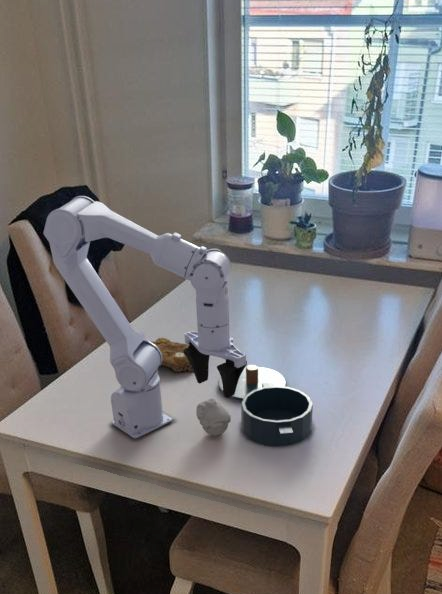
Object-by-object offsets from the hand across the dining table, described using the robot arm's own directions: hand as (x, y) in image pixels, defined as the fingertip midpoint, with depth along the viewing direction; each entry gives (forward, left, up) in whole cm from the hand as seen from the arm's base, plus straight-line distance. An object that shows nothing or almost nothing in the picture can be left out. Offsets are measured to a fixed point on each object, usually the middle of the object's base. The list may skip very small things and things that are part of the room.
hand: (215, 388), depth 127 cm
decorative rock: (+12, +29, -10) cm, 33 cm away
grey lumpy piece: (-1, -1, -10) cm, 10 cm away
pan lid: (+17, +8, -9) cm, 20 cm away
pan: (+9, -7, -9) cm, 15 cm away
